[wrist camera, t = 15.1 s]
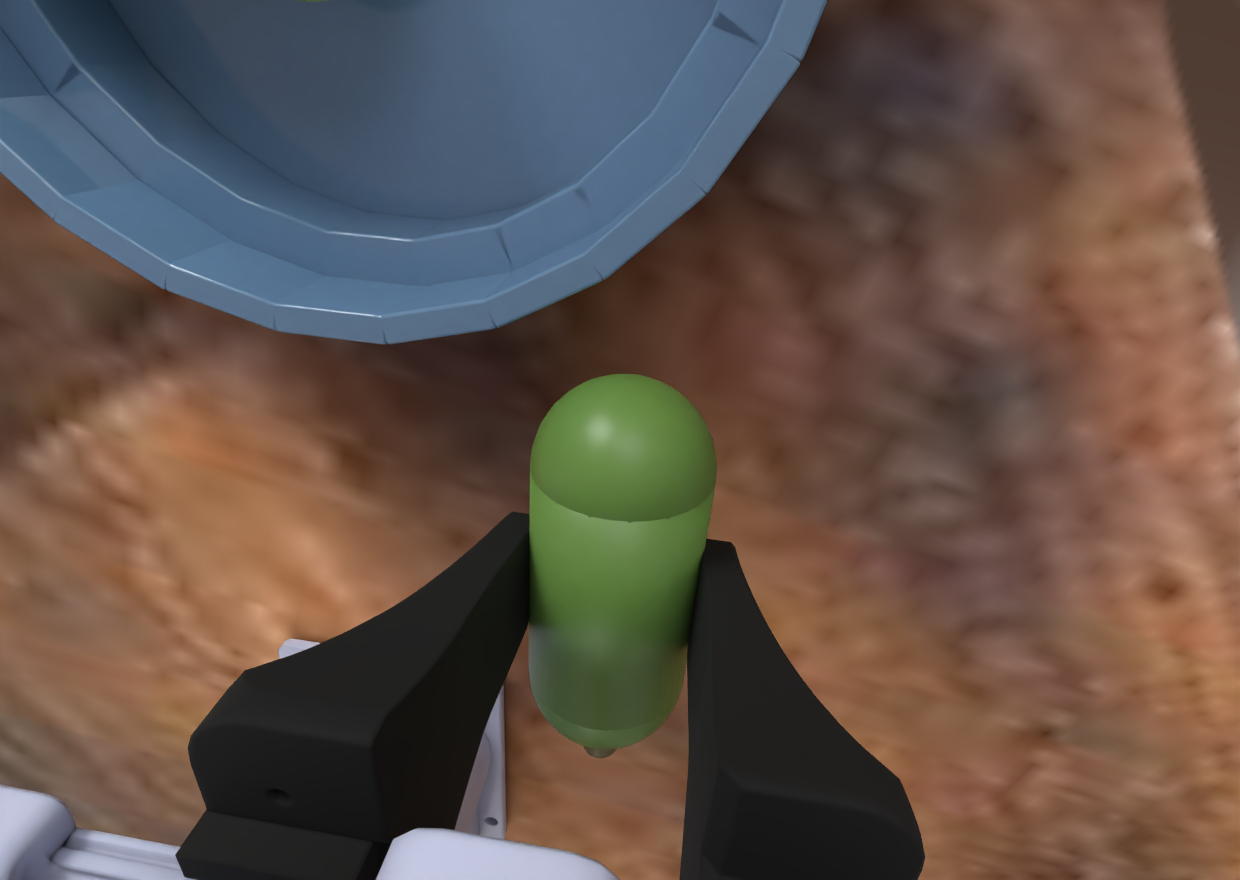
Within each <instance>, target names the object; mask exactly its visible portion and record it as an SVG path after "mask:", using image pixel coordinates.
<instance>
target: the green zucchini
mask: <svg viewBox="0 0 1240 880" xmlns="http://www.w3.org/2000/svg"><path fill="white" fill-rule="evenodd" d="M716 471H717V461H716V454H715V449H714V444H713V438H712V436H711V434H710V432H709V429H708V427H707V425H706V423H705V421H704V419H703V417H702V416H701V414H700V413H699V412H698V411H697V409H696V408H695V407H694V405H693V404H692V403H691V402H690V401H689V400H688V399H687V398H686V397H684V396H683V395H682V394H681V393H679V392H678V391H677V390H675V389H674V388H672V387H671V386H669V385H667V384H665V383H663V382H660V381H658V380H655V379H652V378H650V377H646V376H642V375H637V374H612V375H606V376H601V377H597V378H594V379H590V380H588V381H586V382H584V383H582V384H580V385H578V386H577V387H575V388H573V389H571V390H570V391H569V392H567V393H566V394H565V395H564V396H563V397H561V398H560V399H559V400H558V401H557V402H556V403H555V404H554V405H553V406H552V408H551V409H550V410H549V412H548V413H547V415H546V416H545V418H544V419H543V421H542V422H541V424H540V426H539V429H538V432H537V434H536V437H535V440H534V443H533V446H532V452H531V460H530V527H529V677H530V685H531V689H532V692H533V695H534V699H535V701H536V703H537V705H538V707H539V709H540V711H541V712H542V714H543V716H544V717H545V719H546V720H547V721H548V722H549V723H550V724H551V725H552V726H553V727H554V728H555V729H556V730H557V731H558V732H559V733H561V734H562V735H563V736H565V737H566V738H568V739H569V740H571V741H573V742H575V743H578V744H580V745H583V746H584V749H585V750H586V751H587V753H588V754H590V755H591V756H593V757H596V758H605V757H608V756H610V755H611V754H613V753H614V752H615V750H616V749H617V748H622V747H626V746H630V745H633V744H635V743H637V742H639V741H641V740H643V739H645V738H646V737H648V736H649V735H650V734H652V733H653V732H654V731H656V730H657V729H658V728H659V727H660V726H661V725H662V724H663V723H664V721H665V720H666V719H667V718H668V716H669V715H670V714H671V712H672V711H673V709H674V707H675V705H676V703H677V701H678V699H679V695H680V692H681V689H682V686H683V680H684V674H685V668H686V662H687V648H688V641H689V634H690V628H691V622H692V616H693V609H694V603H695V597H696V591H697V584H698V578H699V572H700V566H701V560H702V554H703V552H704V550H705V545H706V539H707V532H708V526H709V520H710V514H711V508H712V502H713V495H714V489H715V483H716Z"/></svg>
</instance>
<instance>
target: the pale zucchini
mask: <svg viewBox="0 0 1240 880" xmlns="http://www.w3.org/2000/svg"><path fill="white" fill-rule="evenodd" d="M296 1H308V2H322V1H328V0H296Z"/></svg>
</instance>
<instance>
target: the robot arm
mask: <svg viewBox="0 0 1240 880" xmlns="http://www.w3.org/2000/svg"><path fill="white" fill-rule="evenodd" d="M529 527H530V514H525V513H518V512H511V513H510V514H508V515H507V516H506V517H505V518H504V519H503V520H502V521H501V522H500V523H498V524H497V525H496V526H495V527H494V528H493V529H492V530H491V531H490V532H489V533H488V534H487V535H486V536H485V537H483V538H482V539H481V540H480V541H479V542H478V543H477V544H476V545H475V546H473V547H472V548H471V549H470V550H469V551H468V552H466V553H465V554H464V555H463V556H462V557H461V558H459V559H458V560H457V561H456V562H455V563H454V564H452V565H451V566H450V567H449V568H447V569H446V570H445V571H443V572H442V573H441V574H439V575H438V576H437V577H436V578H434V579H433V580H432V581H430V582H429V583H428V584H426V585H425V586H424V587H422V588H421V589H419V590H418V591H417V592H415V593H414V594H412V595H411V596H409V597H408V598H406V599H405V600H403V601H402V602H400V603H398V604H397V605H395V606H394V607H392V608H390V609H389V610H387V611H385V612H383V613H381V614H380V615H378V616H376V617H374V618H372V619H370V620H368V621H366V622H364V623H362V624H361V625H359V626H357V627H355V628H353V629H351V630H349V631H347V632H345V633H343V634H341V635H338V636H336V637H334V638H332V639H330V640H327V641H325V642H323V643H317V642H311V641H305V640H299V639H288V640H285V642H284V643H283V644H282V646H281V647H280V648H279V650H278V654H279V658H280V659H278V660H275V661H272V662H269V663H266V664H263V665H261V666H258V667H255V668H251V669H248V670H245V671H244V672H243V673H242V674H241V676H240V677H239V678H238V679H237V680H236V681H235V682H234V683H233V684H232V685H231V686H230V687H229V688H228V690H227V691H226V692H225V693H224V695H223V696H222V697H221V698H220V700H219V701H218V702H217V703H216V705H215V706H214V707H213V709H212V710H211V711H210V712H209V714H208V715H207V716H206V717H205V719H204V720H203V721H202V722H201V724H200V725H199V726H198V728H197V729H196V730H195V731H194V733H193V734H192V735H191V738H190V741H189V745H188V752H189V757H190V762H191V766H192V769H193V772H194V774H195V777H196V780H197V783H198V785H199V788H200V791H201V794H202V797H203V799H204V802H205V805H206V808H207V810H206V811H205V813H204V814H203V816H202V817H201V819H200V820H199V821H198V823H197V824H196V826H195V827H194V829H193V830H192V831H191V833H190V834H189V836H188V837H187V839H186V840H185V841H184V843H183V844H182V846H181V847H178V846H173V845H168V844H163V843H157V842H152V841H147V840H142V839H136V838H131V837H126V836H121V835H116V834H110V833H105V832H100V831H95V830H89V829H84V828H79V827H76V824H75V820H74V817H73V814H72V812H71V810H70V808H69V807H68V806H67V805H66V804H65V803H64V802H63V801H62V800H60V799H58V798H57V797H55V796H52V795H49V794H46V793H42V792H36V791H31V790H25V789H20V788H15V787H9V786H4V785H0V880H619V878H618V877H617V876H616V875H615V874H614V873H612V872H611V871H610V870H609V869H607V868H606V867H605V866H604V865H602V864H601V863H600V862H599V861H597V860H594V859H591V858H588V857H585V856H582V855H580V854H577V853H574V852H570V851H565V850H559V849H554V848H548V847H543V846H537V845H532V844H526V843H521V842H515V841H510V840H504V837H505V834H506V830H507V828H506V779H505V729H504V681H505V679H506V676H507V674H508V672H509V669H510V667H511V665H512V662H513V660H514V658H515V655H516V653H517V650H518V648H519V646H520V643H521V641H522V638H523V636H524V634H525V631H526V629H527V626H528V622H529ZM687 676H688V725H689V765H688V780H687V793H686V806H685V819H684V831H683V844H682V856H681V868H680V880H917V879H918V877H919V875H920V873H921V871H922V868H923V864H924V860H925V854H924V849H923V843H922V838H921V834H920V831H919V827H918V824H917V821H916V818H915V816H914V813H913V810H912V808H911V805H910V802H909V800H908V798H907V795H906V793H905V790H904V788H903V786H902V783H901V781H900V779H899V778H898V777H897V776H895V775H894V774H893V773H892V772H891V771H890V770H889V769H887V768H886V767H885V766H884V765H883V764H882V763H881V762H879V761H878V760H877V759H876V758H875V757H874V756H873V755H871V754H870V753H869V752H868V751H867V750H866V749H864V748H863V747H862V746H861V745H860V744H859V743H858V742H857V741H856V740H855V739H854V738H853V737H852V736H851V735H850V734H849V733H848V732H847V731H846V730H845V729H844V728H843V727H842V726H841V725H840V724H839V723H838V722H837V720H836V719H835V718H834V717H833V716H832V715H831V714H830V712H829V711H828V710H827V709H826V708H825V707H824V705H823V704H822V703H821V702H820V701H819V700H818V699H817V697H816V696H815V695H814V694H813V693H812V691H811V690H810V689H809V687H808V686H807V685H806V683H805V682H804V681H803V679H802V678H801V677H800V675H799V674H798V672H797V671H796V670H795V668H794V667H793V665H792V664H791V662H790V661H789V660H788V658H787V656H786V655H785V653H784V652H783V650H782V649H781V647H780V645H779V644H778V642H777V640H776V639H775V637H774V635H773V633H772V632H771V630H770V628H769V626H768V625H767V623H766V621H765V619H764V617H763V615H762V613H761V611H760V609H759V607H758V605H757V603H756V601H755V599H754V597H753V595H752V592H751V590H750V588H749V586H748V583H747V581H746V578H745V576H744V573H743V571H742V568H741V565H740V562H739V559H738V556H737V553H736V549H735V547H734V545H733V544H732V543H731V542H726V541H718V540H711V539H706V545H705V550H704V552H703V554H702V560H701V566H700V572H699V578H698V584H697V591H696V597H695V603H694V609H693V616H692V622H691V628H690V634H689V641H688V648H687Z"/></svg>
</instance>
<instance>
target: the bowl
mask: <svg viewBox="0 0 1240 880" xmlns="http://www.w3.org/2000/svg"><path fill="white" fill-rule="evenodd" d="M827 2H828V0H328V1H322V2H308V1H296V0H0V173H1V174H2V175H3V176H5V177H6V178H7V179H8V180H9V181H10V182H11V183H12V184H13V185H15V186H16V187H17V188H18V189H19V190H20V191H21V192H22V193H23V194H25V195H26V196H27V197H28V198H29V199H30V200H31V201H32V202H33V203H35V204H36V205H37V206H38V207H39V208H40V209H41V210H42V211H43V212H45V213H46V214H47V215H48V216H49V217H50V218H52V219H54V221H55V222H56V223H57V224H59V225H61V226H62V227H64V228H65V229H67V230H69V231H70V232H72V233H73V234H75V235H77V236H78V237H80V238H81V239H83V240H85V241H86V242H88V243H89V244H91V245H93V246H94V247H96V248H97V249H99V250H101V251H102V252H104V253H105V254H107V255H109V256H110V257H112V258H113V259H115V260H117V261H118V262H120V263H121V264H123V265H125V266H126V267H128V268H129V269H131V270H133V271H134V272H136V273H137V274H139V275H141V276H142V277H144V278H145V279H147V280H149V281H150V282H152V283H153V284H155V285H157V286H158V287H160V288H161V289H166V290H167V291H169V292H172V293H174V294H177V295H180V296H182V297H185V298H188V299H191V300H193V301H196V302H199V303H201V304H204V305H207V306H209V307H212V308H215V309H217V310H220V311H223V312H226V313H228V314H231V315H234V316H236V317H239V318H242V319H244V320H247V321H250V322H252V323H255V324H258V325H261V326H263V327H266V328H269V329H271V330H277V331H278V332H284V333H292V334H300V335H309V336H317V337H325V338H333V339H342V340H350V341H358V342H366V343H375V344H383V345H385V344H387V343H388V344H397V343H404V342H411V341H417V340H424V339H431V338H438V337H445V336H452V335H459V334H466V333H473V332H480V331H487V330H494V329H495V328H496V327H497V328H500V327H503V326H505V325H507V324H510V323H512V322H514V321H516V320H518V319H521V318H523V317H525V316H527V315H530V314H532V313H534V312H536V311H538V310H541V309H543V308H545V307H547V306H550V305H552V304H554V303H556V302H558V301H561V300H563V299H565V298H567V297H570V296H572V295H574V294H576V293H578V292H581V291H583V290H585V289H587V288H590V287H592V286H594V285H596V284H598V283H601V282H602V281H603V279H604V280H605V279H607V278H609V277H610V276H611V275H612V274H613V273H615V272H616V271H617V270H618V269H619V268H621V267H622V266H623V265H624V264H625V263H627V262H628V261H629V260H630V259H631V258H633V257H634V256H635V255H636V254H637V253H639V252H640V251H641V250H642V249H643V248H644V247H646V246H647V245H648V244H649V243H650V242H652V241H653V240H654V239H655V238H656V237H658V236H659V235H660V234H661V233H662V232H664V231H665V230H666V229H667V228H668V227H670V226H671V225H672V224H673V223H674V222H676V221H677V220H678V219H679V218H680V217H682V216H683V215H684V214H685V213H686V212H688V211H689V210H690V209H691V208H692V207H693V206H695V205H696V204H697V203H698V202H699V201H701V200H702V199H703V198H704V197H705V195H706V193H709V192H710V191H711V189H712V188H713V186H714V185H715V184H716V182H717V181H718V179H719V178H720V177H721V175H722V174H723V172H724V171H725V170H726V168H727V167H728V165H729V164H730V163H731V161H732V160H733V159H734V157H735V156H736V154H737V153H738V152H739V150H740V149H741V147H742V146H743V145H744V143H745V142H746V140H747V139H748V138H749V136H750V135H751V133H752V132H753V131H754V129H755V128H756V126H757V125H758V124H759V122H760V121H761V119H762V118H763V117H764V115H765V114H766V113H767V111H768V110H769V108H770V107H771V106H772V104H773V103H774V101H775V100H776V99H777V97H778V96H779V94H780V93H781V92H782V90H783V89H784V87H785V86H786V85H787V83H788V82H789V80H790V79H791V78H792V76H793V75H794V73H795V72H796V71H797V69H798V68H799V66H800V62H799V61H802V60H803V59H804V57H805V54H806V52H807V49H808V47H809V45H810V42H811V40H812V38H813V35H814V33H815V30H816V28H817V26H818V23H819V21H820V18H821V16H822V14H823V11H824V9H825V7H826V4H827Z"/></svg>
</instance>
